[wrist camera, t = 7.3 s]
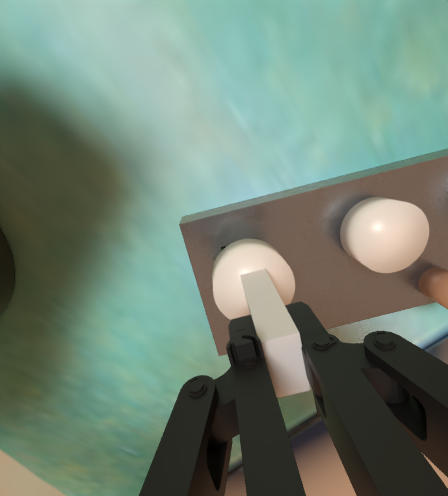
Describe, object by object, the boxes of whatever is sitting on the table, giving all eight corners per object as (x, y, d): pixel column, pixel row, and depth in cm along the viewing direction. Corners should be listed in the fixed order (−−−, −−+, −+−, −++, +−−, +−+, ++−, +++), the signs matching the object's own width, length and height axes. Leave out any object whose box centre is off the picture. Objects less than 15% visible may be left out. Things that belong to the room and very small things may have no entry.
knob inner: (220, 294, 23) (224, 333, 18) (204, 237, 22) (203, 261, 17) (279, 279, 23) (301, 314, 18) (267, 221, 22) (287, 240, 16)
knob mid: (328, 255, 25) (360, 280, 20) (320, 200, 24) (352, 212, 18) (383, 241, 25) (430, 263, 20) (379, 185, 24) (428, 193, 18)
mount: (217, 335, 28) (219, 355, 25) (182, 216, 24) (179, 224, 21) (502, 264, 27) (537, 276, 24) (510, 132, 24) (552, 128, 21)
